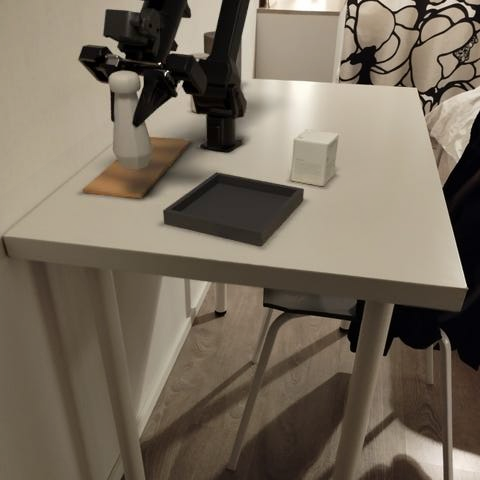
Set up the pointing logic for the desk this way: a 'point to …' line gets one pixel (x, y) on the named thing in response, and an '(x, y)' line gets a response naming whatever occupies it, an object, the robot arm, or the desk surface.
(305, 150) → the product box
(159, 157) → the wooden board
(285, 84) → the desk surface
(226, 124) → the robot arm
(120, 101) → the salt shaker
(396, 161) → the desk surface
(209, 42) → the pillar candle
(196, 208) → the tray
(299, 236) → the desk surface
